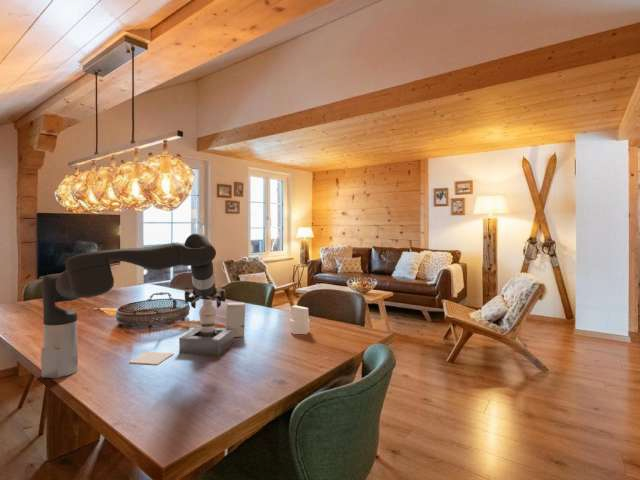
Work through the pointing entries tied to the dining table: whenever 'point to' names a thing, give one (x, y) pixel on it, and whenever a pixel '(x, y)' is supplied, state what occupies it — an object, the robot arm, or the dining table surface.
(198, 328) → the housing block
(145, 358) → the rubber mat
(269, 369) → the dining table surface
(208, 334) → the plastic bottle
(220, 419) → the dining table surface
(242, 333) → the skincare box
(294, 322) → the cylinder with rectangular tab
